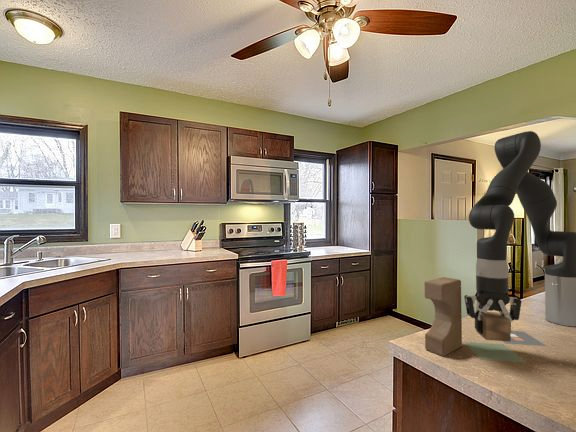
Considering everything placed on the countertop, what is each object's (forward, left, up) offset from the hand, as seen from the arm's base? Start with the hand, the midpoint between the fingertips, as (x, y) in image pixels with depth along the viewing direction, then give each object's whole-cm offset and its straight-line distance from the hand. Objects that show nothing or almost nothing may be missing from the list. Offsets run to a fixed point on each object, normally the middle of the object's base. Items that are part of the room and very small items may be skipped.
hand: (492, 332), depth 81 cm
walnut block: (0, 0, -1) cm, 1 cm away
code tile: (-12, -12, -5) cm, 18 cm away
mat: (0, 0, -5) cm, 5 cm away
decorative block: (+13, 0, -6) cm, 14 cm away
